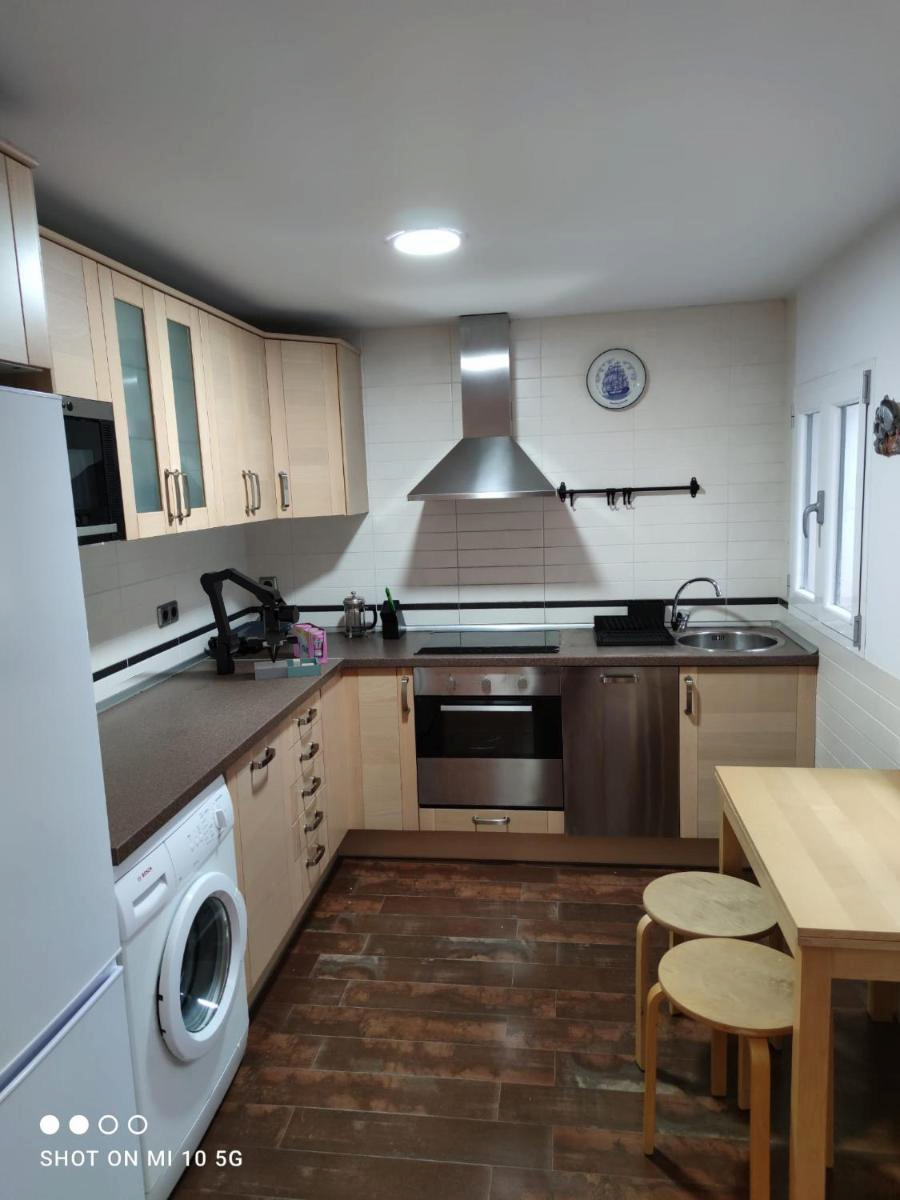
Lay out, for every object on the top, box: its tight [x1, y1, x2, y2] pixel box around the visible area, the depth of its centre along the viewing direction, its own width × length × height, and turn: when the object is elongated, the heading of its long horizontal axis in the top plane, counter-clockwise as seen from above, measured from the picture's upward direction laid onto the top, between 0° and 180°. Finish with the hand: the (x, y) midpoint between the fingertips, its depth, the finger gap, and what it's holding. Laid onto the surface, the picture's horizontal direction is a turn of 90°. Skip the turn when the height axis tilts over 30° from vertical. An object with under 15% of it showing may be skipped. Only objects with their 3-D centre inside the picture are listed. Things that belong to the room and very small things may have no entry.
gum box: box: [292, 622, 328, 665], centre depth 322 cm, size 24×8×14 cm, turn 27°
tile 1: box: [292, 658, 301, 667], centre depth 299 cm, size 4×4×2 cm
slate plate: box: [254, 659, 288, 681], centre depth 297 cm, size 12×12×4 cm
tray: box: [285, 657, 322, 679], centre depth 300 cm, size 12×14×4 cm
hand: (273, 662), depth 297 cm, fingers closed
